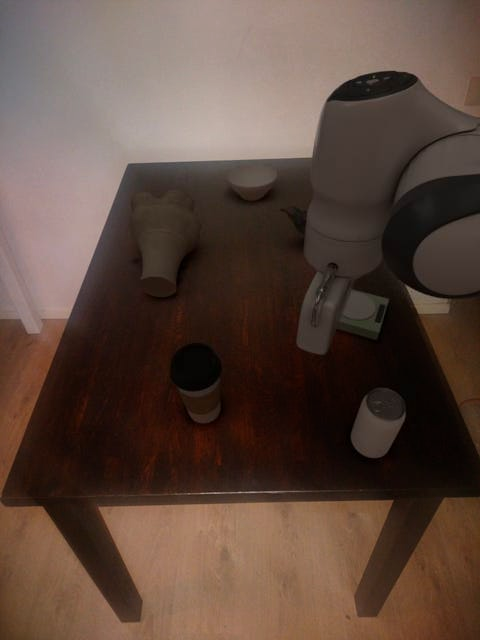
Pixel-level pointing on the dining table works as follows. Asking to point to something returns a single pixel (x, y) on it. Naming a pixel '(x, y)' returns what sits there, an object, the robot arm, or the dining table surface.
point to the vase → (163, 237)
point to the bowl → (252, 180)
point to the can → (378, 422)
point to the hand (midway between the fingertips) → (329, 324)
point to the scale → (363, 314)
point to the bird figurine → (297, 218)
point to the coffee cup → (198, 380)
